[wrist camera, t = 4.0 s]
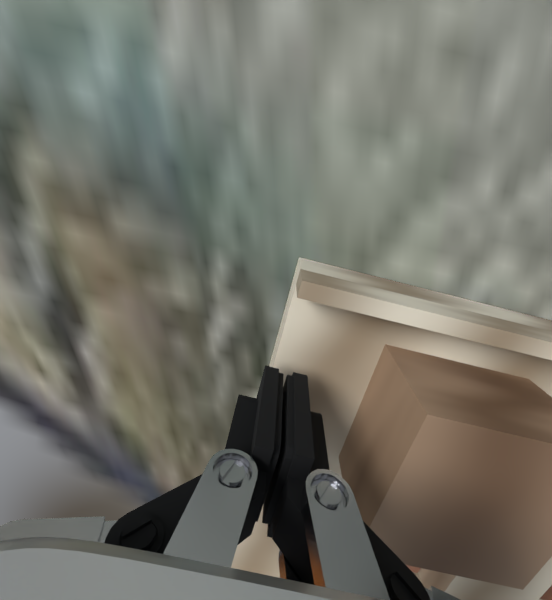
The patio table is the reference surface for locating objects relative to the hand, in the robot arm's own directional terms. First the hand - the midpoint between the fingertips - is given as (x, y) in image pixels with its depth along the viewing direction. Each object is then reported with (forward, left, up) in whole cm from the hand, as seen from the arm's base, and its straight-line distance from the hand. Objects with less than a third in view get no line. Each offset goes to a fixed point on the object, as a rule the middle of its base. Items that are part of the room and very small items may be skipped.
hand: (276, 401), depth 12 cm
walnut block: (-7, 0, -1) cm, 7 cm away
